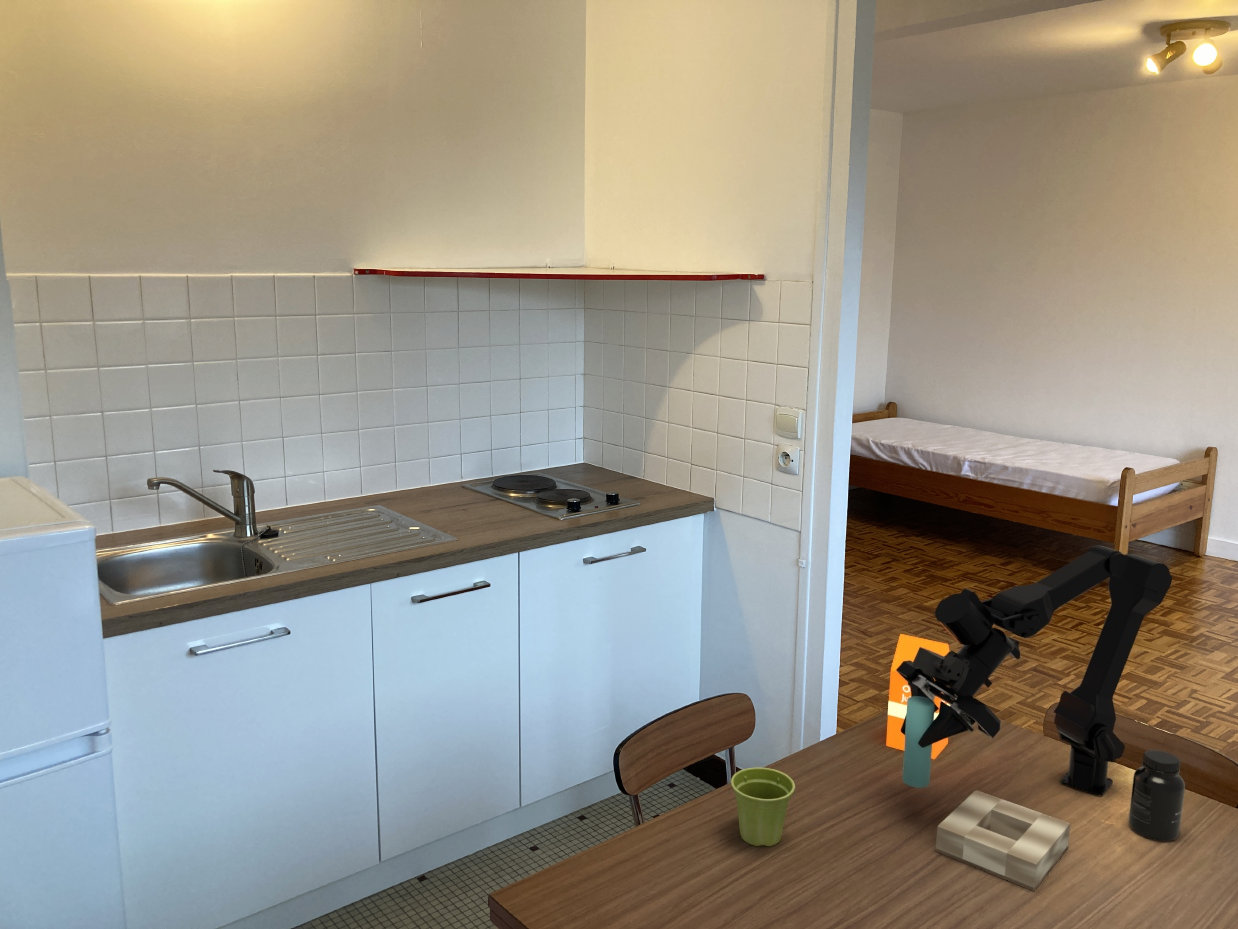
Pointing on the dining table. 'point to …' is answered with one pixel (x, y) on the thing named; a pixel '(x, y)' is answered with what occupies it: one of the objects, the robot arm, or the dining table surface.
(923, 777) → the teal cylinder
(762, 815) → the plant pot
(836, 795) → the dining table surface
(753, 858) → the dining table surface
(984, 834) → the cream square wooden frame
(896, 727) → the orange juice
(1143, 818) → the supplement bottle
